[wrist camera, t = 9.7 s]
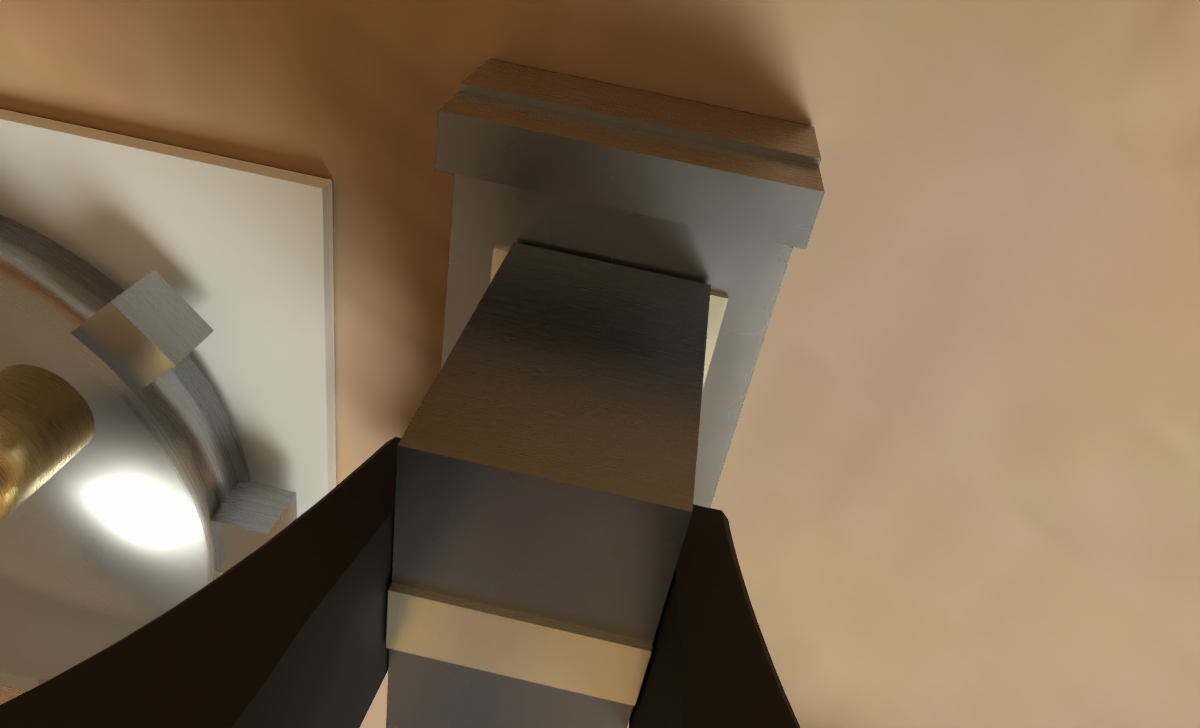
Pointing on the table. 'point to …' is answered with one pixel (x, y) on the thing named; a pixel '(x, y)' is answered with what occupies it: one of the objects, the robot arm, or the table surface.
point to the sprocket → (108, 460)
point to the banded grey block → (546, 498)
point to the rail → (631, 206)
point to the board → (205, 270)
